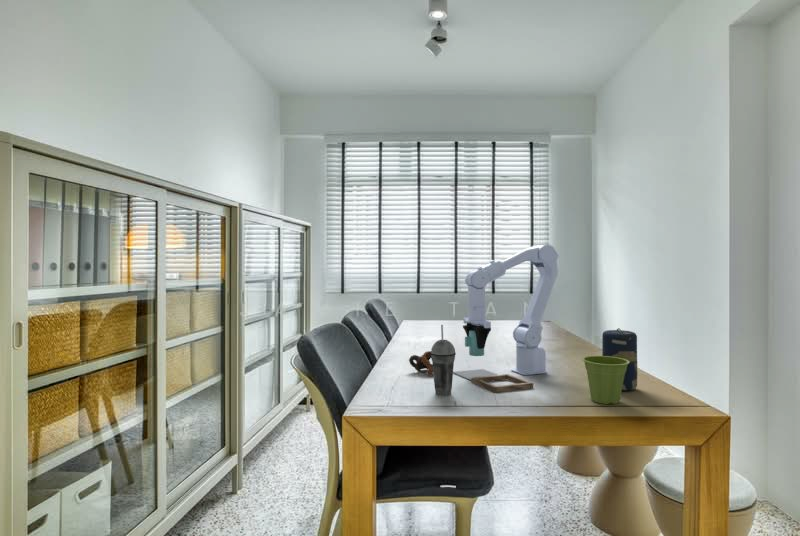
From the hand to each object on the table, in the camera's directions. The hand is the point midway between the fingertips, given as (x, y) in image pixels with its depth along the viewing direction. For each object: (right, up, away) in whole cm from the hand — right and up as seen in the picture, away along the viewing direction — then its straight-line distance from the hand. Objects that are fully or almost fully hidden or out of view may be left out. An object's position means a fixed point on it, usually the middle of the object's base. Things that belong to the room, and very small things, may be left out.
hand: (476, 347), depth 168 cm
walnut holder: (+6, -10, -14) cm, 18 cm away
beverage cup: (-13, -10, -23) cm, 29 cm away
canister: (+40, -10, -19) cm, 45 cm away
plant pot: (+30, -10, -32) cm, 45 cm away
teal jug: (0, -3, 0) cm, 3 cm away
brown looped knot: (-17, -10, +5) cm, 20 cm away
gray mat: (0, -9, 0) cm, 9 cm away
